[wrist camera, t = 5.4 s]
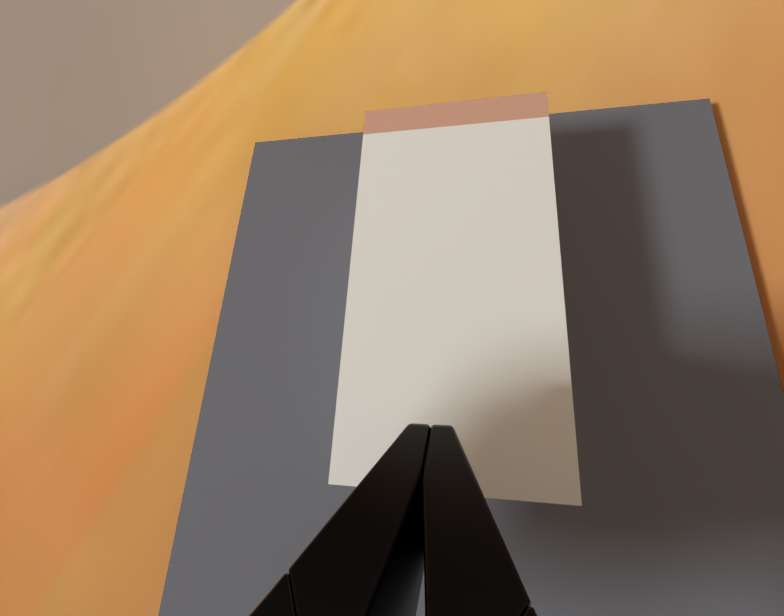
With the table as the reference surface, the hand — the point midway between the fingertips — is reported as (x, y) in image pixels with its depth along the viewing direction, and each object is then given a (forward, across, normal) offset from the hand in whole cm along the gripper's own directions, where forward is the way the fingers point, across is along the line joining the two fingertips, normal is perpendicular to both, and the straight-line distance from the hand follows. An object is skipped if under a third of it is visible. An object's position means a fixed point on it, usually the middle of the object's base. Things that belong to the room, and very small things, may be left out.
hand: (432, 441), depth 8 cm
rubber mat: (+6, 0, +4) cm, 7 cm away
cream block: (+2, 0, +4) cm, 5 cm away
